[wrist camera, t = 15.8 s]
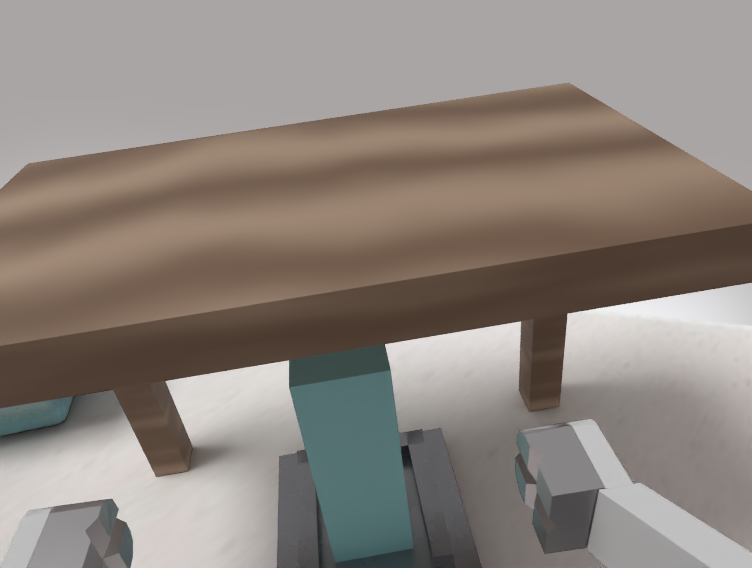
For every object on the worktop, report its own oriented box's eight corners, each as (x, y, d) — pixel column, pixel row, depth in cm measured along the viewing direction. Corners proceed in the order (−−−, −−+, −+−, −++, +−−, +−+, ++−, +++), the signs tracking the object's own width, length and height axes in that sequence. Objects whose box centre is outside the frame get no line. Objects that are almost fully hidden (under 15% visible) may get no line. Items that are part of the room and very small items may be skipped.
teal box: (413, 548, 29) (390, 370, 23) (335, 562, 29) (289, 387, 22) (398, 469, 33) (374, 299, 27) (329, 481, 33) (289, 313, 27)
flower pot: (87, 438, 40) (30, 336, 35) (-48, 468, 39) (-126, 368, 34) (111, 358, 47) (66, 265, 42) (-3, 382, 46) (-61, 289, 41)
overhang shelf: (670, 607, 26) (794, 216, 16) (97, 717, 25) (-202, 378, 14) (547, 385, 39) (568, 82, 28) (162, 451, 38) (28, 163, 27)
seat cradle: (486, 596, 28) (486, 573, 27) (280, 635, 27) (271, 613, 26) (441, 439, 36) (439, 416, 35) (282, 467, 36) (276, 445, 35)
